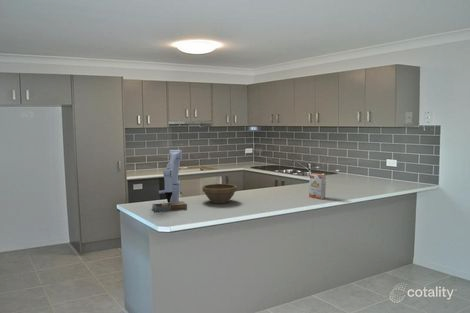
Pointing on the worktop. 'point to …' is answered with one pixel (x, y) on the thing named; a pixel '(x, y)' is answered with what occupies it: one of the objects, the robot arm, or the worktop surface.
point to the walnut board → (178, 205)
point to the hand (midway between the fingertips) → (168, 201)
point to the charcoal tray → (158, 207)
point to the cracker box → (317, 186)
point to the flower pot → (219, 192)
